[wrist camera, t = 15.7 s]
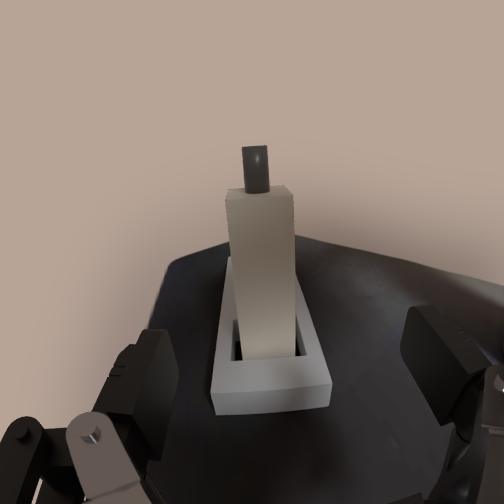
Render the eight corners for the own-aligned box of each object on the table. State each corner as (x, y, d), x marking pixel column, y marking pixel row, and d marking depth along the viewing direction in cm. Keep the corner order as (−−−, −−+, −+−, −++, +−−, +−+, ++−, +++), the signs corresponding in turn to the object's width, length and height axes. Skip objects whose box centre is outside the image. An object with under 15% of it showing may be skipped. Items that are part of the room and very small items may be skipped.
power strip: (231, 259, 46) (229, 239, 45) (284, 256, 46) (283, 235, 45) (216, 415, 19) (208, 384, 18) (328, 405, 19) (333, 374, 17)
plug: (244, 346, 26) (224, 148, 20) (288, 343, 26) (281, 144, 20) (244, 377, 22) (220, 149, 16) (294, 372, 22) (290, 144, 16)
